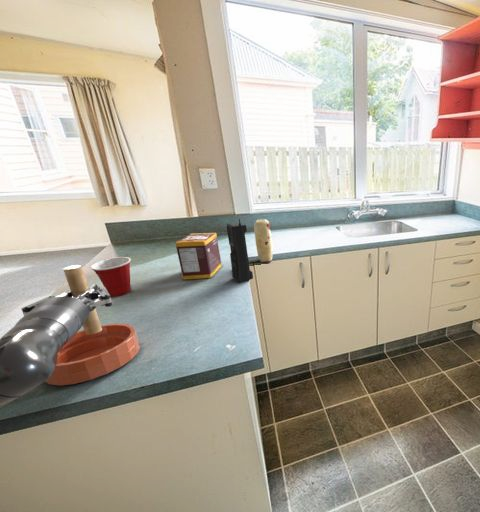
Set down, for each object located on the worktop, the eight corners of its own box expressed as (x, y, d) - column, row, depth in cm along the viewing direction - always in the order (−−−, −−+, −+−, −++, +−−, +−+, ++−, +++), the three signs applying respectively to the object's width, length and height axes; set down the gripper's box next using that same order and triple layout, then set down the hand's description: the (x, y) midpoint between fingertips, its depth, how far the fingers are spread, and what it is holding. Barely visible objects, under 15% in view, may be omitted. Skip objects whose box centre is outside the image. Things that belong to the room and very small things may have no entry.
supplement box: (222, 265, 135) (216, 232, 130) (211, 278, 121) (204, 241, 116) (197, 267, 133) (190, 233, 128) (182, 279, 119) (174, 242, 114)
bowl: (28, 398, 60) (18, 375, 58) (62, 353, 74) (55, 334, 72) (132, 372, 67) (125, 351, 66) (145, 335, 81) (140, 318, 80)
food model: (277, 261, 142) (272, 220, 136) (263, 264, 137) (258, 221, 131) (268, 256, 148) (264, 217, 142) (255, 259, 144) (249, 218, 138)
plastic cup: (90, 299, 101) (79, 266, 98) (118, 286, 112) (109, 256, 108) (121, 300, 101) (111, 267, 97) (146, 287, 111) (138, 257, 108)
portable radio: (231, 277, 121) (221, 217, 114) (246, 274, 125) (237, 215, 118) (238, 283, 116) (228, 220, 108) (253, 279, 120) (245, 218, 112)
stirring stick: (83, 336, 67) (60, 270, 62) (88, 330, 69) (66, 266, 64) (100, 333, 68) (78, 268, 63) (103, 327, 70) (83, 264, 65)
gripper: (96, 297, 56) (120, 269, 70) (-14, 315, 49) (37, 280, 64) (107, 332, 58) (129, 298, 73) (3, 353, 52) (49, 311, 66)
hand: (86, 289), depth 68 cm, fingers closed on stirring stick, 3 cm apart
